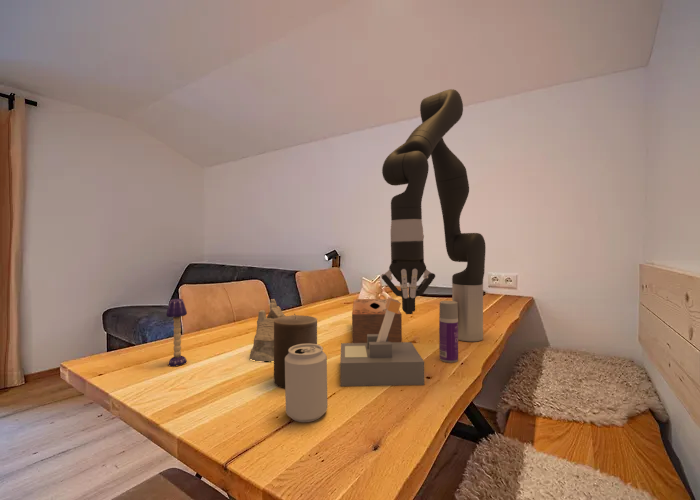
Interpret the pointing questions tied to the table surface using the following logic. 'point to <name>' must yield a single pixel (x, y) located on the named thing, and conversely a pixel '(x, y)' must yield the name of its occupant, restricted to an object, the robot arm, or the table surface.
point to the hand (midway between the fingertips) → (408, 313)
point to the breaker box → (380, 363)
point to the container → (448, 331)
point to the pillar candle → (291, 340)
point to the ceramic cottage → (265, 334)
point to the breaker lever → (388, 318)
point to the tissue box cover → (373, 320)
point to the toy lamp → (177, 329)
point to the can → (306, 382)
